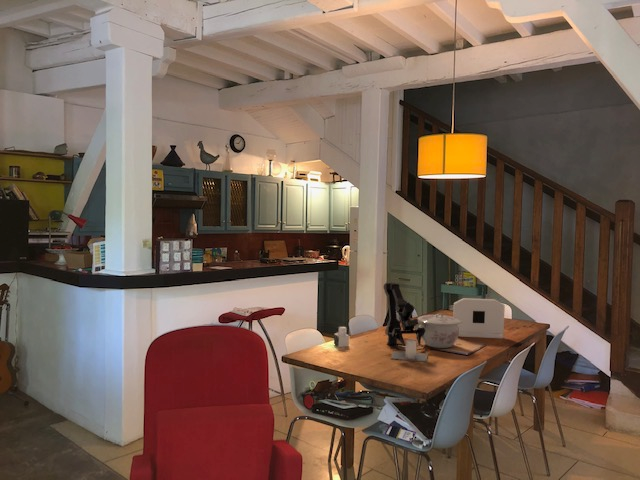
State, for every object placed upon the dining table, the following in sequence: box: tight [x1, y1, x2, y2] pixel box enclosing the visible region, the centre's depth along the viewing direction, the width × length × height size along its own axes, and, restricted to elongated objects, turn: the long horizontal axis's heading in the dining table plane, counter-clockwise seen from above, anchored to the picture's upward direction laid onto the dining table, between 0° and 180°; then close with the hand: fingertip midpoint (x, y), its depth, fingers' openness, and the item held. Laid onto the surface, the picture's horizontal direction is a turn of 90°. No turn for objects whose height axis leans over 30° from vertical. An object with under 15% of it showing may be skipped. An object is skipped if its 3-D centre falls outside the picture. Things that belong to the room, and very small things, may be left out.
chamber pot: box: [414, 312, 462, 349], centre depth 331 cm, size 28×28×21 cm
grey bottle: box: [333, 325, 350, 348], centre depth 326 cm, size 7×7×12 cm
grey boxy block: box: [452, 297, 506, 339], centre depth 367 cm, size 33×24×26 cm
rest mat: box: [390, 350, 429, 363], centre depth 304 cm, size 16×20×1 cm
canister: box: [405, 338, 418, 359], centre depth 300 cm, size 6×6×10 cm
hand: (411, 345), depth 298 cm, fingers open, 9 cm apart
